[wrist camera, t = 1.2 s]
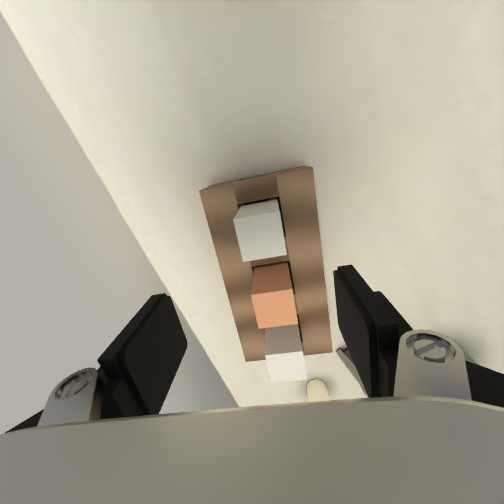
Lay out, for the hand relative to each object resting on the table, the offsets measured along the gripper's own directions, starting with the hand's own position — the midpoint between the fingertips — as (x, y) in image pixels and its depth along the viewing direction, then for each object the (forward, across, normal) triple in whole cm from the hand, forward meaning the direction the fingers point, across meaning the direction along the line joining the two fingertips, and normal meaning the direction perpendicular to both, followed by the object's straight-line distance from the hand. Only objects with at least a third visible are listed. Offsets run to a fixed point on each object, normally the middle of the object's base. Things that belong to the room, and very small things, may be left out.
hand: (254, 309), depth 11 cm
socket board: (+22, 0, +8) cm, 23 cm away
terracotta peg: (+17, 0, +8) cm, 19 cm away
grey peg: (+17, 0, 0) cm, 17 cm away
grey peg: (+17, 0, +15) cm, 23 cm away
